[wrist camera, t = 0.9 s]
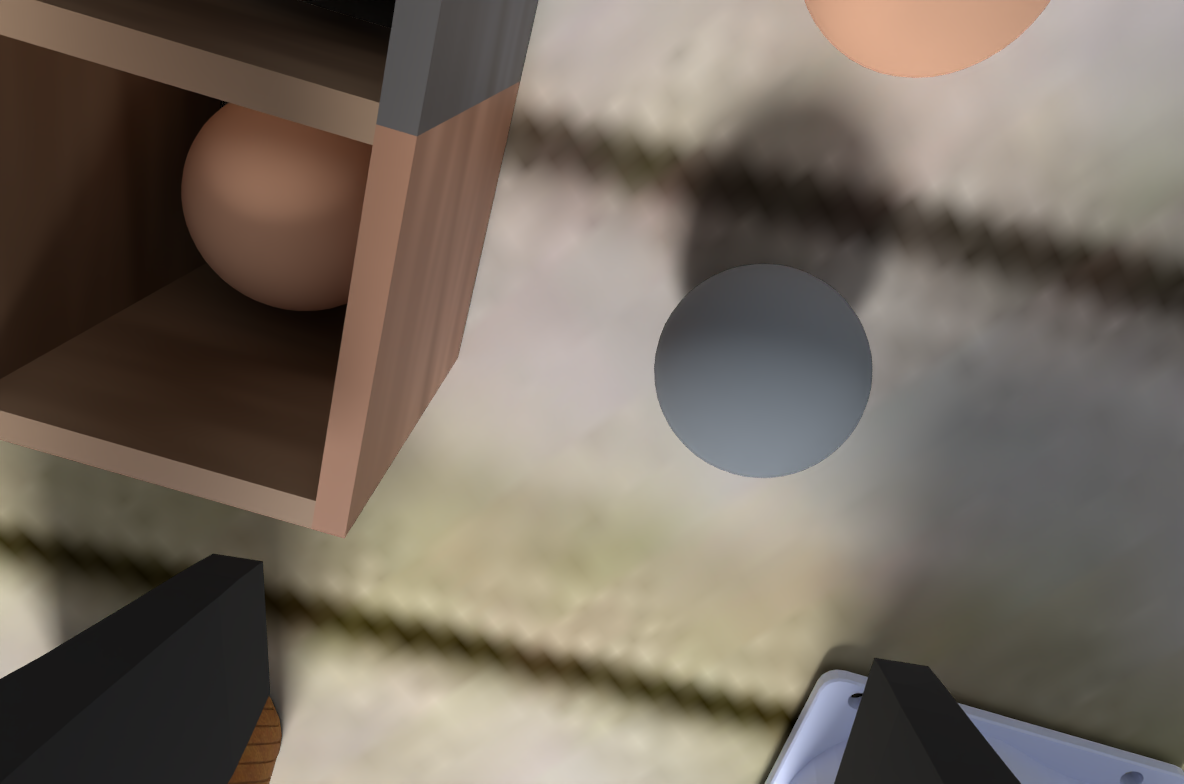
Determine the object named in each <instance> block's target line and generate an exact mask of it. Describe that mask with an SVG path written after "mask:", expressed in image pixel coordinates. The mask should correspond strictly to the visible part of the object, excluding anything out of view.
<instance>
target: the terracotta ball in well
mask: <svg viewBox="0 0 1184 784" xmlns="http://www.w3.org/2000/svg"><path fill="white" fill-rule="evenodd" d="M372 146H373V145H370V144H367V143H364V142H360V141H357V140H353V139H350V138H347V137H343V136H340V135H337V134H333V133H330V132H327V131H323V130H320V129H316V128H313V127H310V126H306V125H303V124H300V123H296V122H293V121H290V120H286V119H283V118H279V117H276V116H273V115H269V114H266V113H263V112H259V111H256V110H253V109H249V108H246V107H242V106H239V105H236V104H232V103H227V104H226V105H225V106H224V107H222V108H221V109H220V110H219V111H217V112H216V113H215V114H214V115H213V116H212V117H211V118H210V119H209V120H208V121H207V122H206V123H205V124H204V125H203V127H202V128H201V130H200V131H199V133H198V134H197V136H196V138H195V139H194V141H193V143H192V145H191V147H190V149H189V152H188V154H187V157H186V161H185V164H184V169H183V176H182V183H181V200H182V208H183V213H184V217H185V221H186V225H187V227H188V230H189V233H190V235H191V237H192V239H193V241H194V243H195V245H196V247H197V249H198V251H199V252H200V254H201V255H202V257H203V258H204V260H205V261H206V262H207V263H208V265H209V266H210V267H211V268H212V269H213V271H214V272H215V273H216V274H217V275H219V276H220V277H221V278H222V279H223V280H224V281H225V282H226V283H228V284H229V285H230V286H231V287H233V288H234V289H236V290H237V291H239V292H240V293H242V294H243V295H245V296H247V297H249V298H251V299H253V300H255V301H258V302H261V303H264V304H266V305H269V306H272V307H276V308H281V309H285V310H294V311H318V310H324V309H330V308H334V307H337V306H340V305H344V304H347V303H348V297H349V291H350V284H351V278H352V272H353V265H354V259H355V253H356V247H357V240H358V234H359V228H360V222H361V215H362V209H363V203H364V197H365V190H366V184H367V178H368V171H369V165H370V159H371V153H372Z"/></svg>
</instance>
